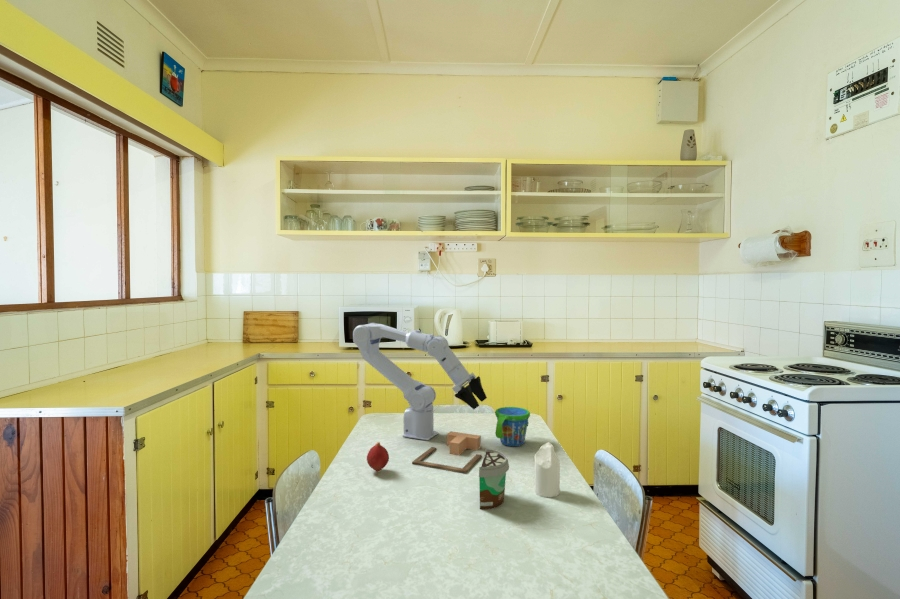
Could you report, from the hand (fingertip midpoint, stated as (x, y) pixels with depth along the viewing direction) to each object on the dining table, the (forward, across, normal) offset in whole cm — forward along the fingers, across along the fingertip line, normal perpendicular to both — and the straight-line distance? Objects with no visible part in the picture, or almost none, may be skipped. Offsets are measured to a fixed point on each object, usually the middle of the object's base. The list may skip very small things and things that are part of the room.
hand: (480, 403), depth 146 cm
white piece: (+24, -28, -14) cm, 39 cm away
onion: (-4, -32, +20) cm, 39 cm away
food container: (+18, -36, -6) cm, 41 cm away
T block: (+7, -9, +10) cm, 15 cm away
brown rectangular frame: (+6, -18, +10) cm, 21 cm away
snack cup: (+16, +2, 0) cm, 16 cm away
